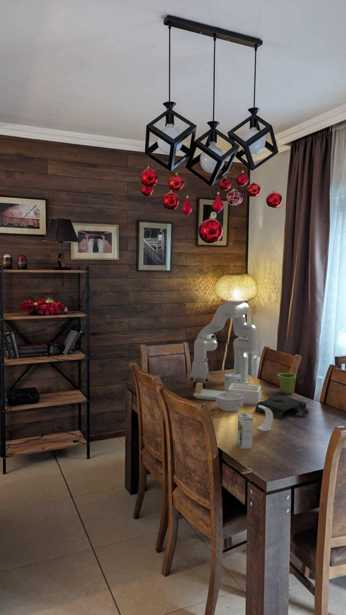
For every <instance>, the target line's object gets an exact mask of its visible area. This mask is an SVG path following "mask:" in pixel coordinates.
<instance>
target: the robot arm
mask: <svg viewBox="0 0 346 615" xmlns="http://www.w3.org/2000/svg"><path fill="white" fill-rule="evenodd" d="M249 308H250V307H249V305H248V303H247V302H244V301H236V300H235V301H234V300H227V301H226V302H225V303H224V304H220V305H219V306H218V307H217V309H216V312H215V313H214V316H213V318H212V320H211V321H210V323H209V324H207V325H205V326H204V327H203V328H202V329H200V331H199V332H198V334H197V337H196V339H195V340H194V345H193V346H194V349H193V352H194V353H193V361H192V365H191V372H190V373H189V374H188V376H187V377H188V378H189V379H190V380H191V382H192V383H193V384H192V385H193V386H192V387H193V389H195V390H196V384H197V379H202V380H203V382H202V383H203V384H202V389H203V390H204V389H206V388H207V382H208V381H210V380H211V379H212V376H211V375H210V374H209V364H208V361H209V358H207V352H213V351H215V350H216V349H217V347H218V342H217V341H216V340H215V339H214V338H207V337H209V335H211V334H214V333H216V332H220V331H221V330H223V328H224V327H225V324H226V322H227V320H228V319H232V321H233V333H234V336H236V337H237V338H235V339H234V340H233V342H232V343H233V344H232V345H233V346H232V348H233V352H234V354H233V356H234V358H233V359H234V360H233V361H234V363H233V374H241V384H245V385H250V380H249V379H248V376H249V374H248V370H249V369H248V368H249V367H248V366H249V356H248V354H249V353H250V354H254V353H255V354H256V352H258V349H259V340H258V330H257V327H256V326H255V325H254V324H252V323H247V321H246V320H247V319H246V315H247V313H248V312H249ZM247 353H248V354H247Z"/></svg>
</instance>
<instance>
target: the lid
mask: <svg viewBox="0 0 346 615" xmlns="http://www.w3.org/2000/svg"><path fill="white" fill-rule="evenodd" d="M220 393H227V392H226V391H225V390H215V389H206V388H205V389H204V390H203V382H196V388H195V392H194V393H193V394H192V396H193V397H195V399H199V400H200V399H201V400H207V401H208V400H209V401H216V395H217V394H220Z"/></svg>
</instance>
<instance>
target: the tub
mask: <svg viewBox="0 0 346 615" xmlns="http://www.w3.org/2000/svg"><path fill="white" fill-rule="evenodd" d="M261 388H262V385H253V384H234V383H232V384H231V385H230V387H229V388H228V392H227V393H236V394H240V395H242V396H243V405H251V406H257V404H258V402H260V401H261V393H262V392H261V390H262V389H261Z"/></svg>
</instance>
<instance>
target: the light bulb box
mask: <svg viewBox="0 0 346 615" xmlns="http://www.w3.org/2000/svg"><path fill="white" fill-rule="evenodd" d="M232 383H234V384H241V374H234V373H225V374H224V384H223V385H224V388H223V389H224V391H226V393H228V388H229V387H230V385H231V384H232Z"/></svg>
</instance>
